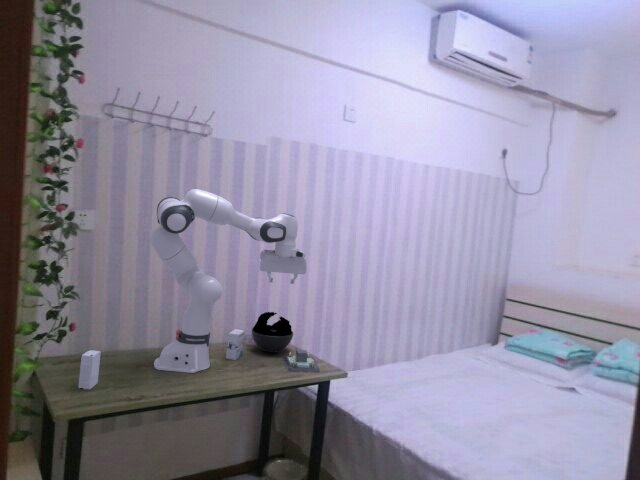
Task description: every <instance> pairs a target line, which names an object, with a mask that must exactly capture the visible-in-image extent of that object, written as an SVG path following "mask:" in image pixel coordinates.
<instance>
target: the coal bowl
mask: <svg viewBox="0 0 640 480" xmlns="http://www.w3.org/2000/svg"><path fill="white" fill-rule="evenodd" d="M277 314H278V313H277V312H274V311H267V312H264V313H261V314H260V315H259V316H258V317H257V321H256V322H255V325H254V326H253V327H252V328H251V337H252V340H253V342H254V344H255V345H256V346H257V347H258V348H259V349H261V350H262V351H264V352H267V353H277V352H280V351H282V350H284V349H286V348H287V347H288V346H289V345H290V343H291V341H292V340H293V336H294V332H293V330H292V325H291V322H290V320H288V319H286V318H285V317H283V316H279V320H277V321H276V322H274V323H273V324H272V325H271V324H268V320H270V319H271V318H272V317H274V316H275V315H277Z"/></svg>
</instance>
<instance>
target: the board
mask: <svg viewBox="0 0 640 480" xmlns="http://www.w3.org/2000/svg"><path fill="white" fill-rule="evenodd" d="M307 355H308V352H307V350H306V349H296V350H295V355H292V356H291V357H289V356H287V357H288V358H287V360H288V362H289V364H290V365H293V360H294V359H295V365H297V367H305V368H309V366H310V365H312V359H311V358H312V357H310V358H307ZM314 364H315V363H314Z"/></svg>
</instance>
